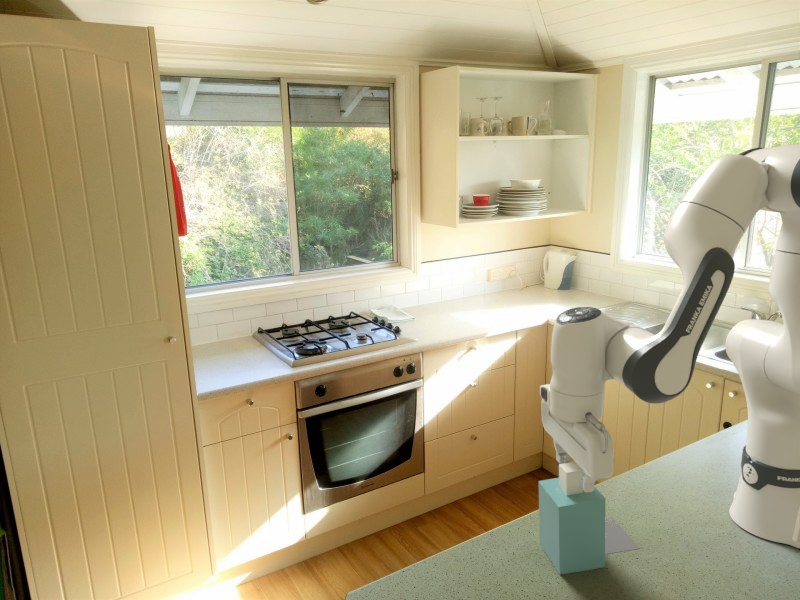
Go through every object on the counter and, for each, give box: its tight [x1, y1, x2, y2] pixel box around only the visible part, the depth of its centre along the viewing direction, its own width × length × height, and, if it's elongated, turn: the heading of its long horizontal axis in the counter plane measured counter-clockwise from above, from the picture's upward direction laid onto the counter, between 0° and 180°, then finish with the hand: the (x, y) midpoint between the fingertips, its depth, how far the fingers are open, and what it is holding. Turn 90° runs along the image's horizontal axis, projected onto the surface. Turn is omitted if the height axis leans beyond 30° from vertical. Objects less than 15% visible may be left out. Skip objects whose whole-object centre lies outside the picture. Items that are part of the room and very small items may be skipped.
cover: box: [538, 461, 606, 575], centre depth 106 cm, size 8×8×18 cm
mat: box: [605, 517, 641, 555], centre depth 114 cm, size 10×10×1 cm
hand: (574, 475), depth 105 cm, fingers open, 8 cm apart
